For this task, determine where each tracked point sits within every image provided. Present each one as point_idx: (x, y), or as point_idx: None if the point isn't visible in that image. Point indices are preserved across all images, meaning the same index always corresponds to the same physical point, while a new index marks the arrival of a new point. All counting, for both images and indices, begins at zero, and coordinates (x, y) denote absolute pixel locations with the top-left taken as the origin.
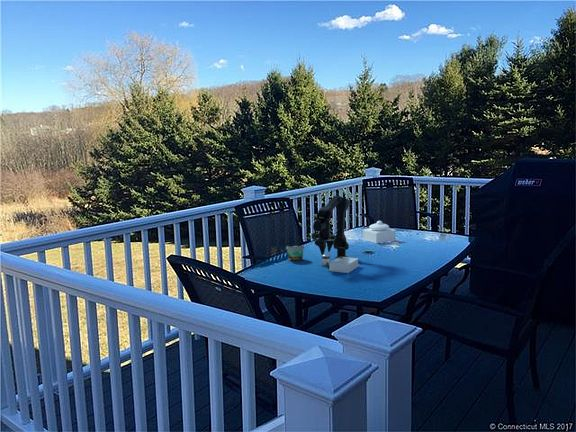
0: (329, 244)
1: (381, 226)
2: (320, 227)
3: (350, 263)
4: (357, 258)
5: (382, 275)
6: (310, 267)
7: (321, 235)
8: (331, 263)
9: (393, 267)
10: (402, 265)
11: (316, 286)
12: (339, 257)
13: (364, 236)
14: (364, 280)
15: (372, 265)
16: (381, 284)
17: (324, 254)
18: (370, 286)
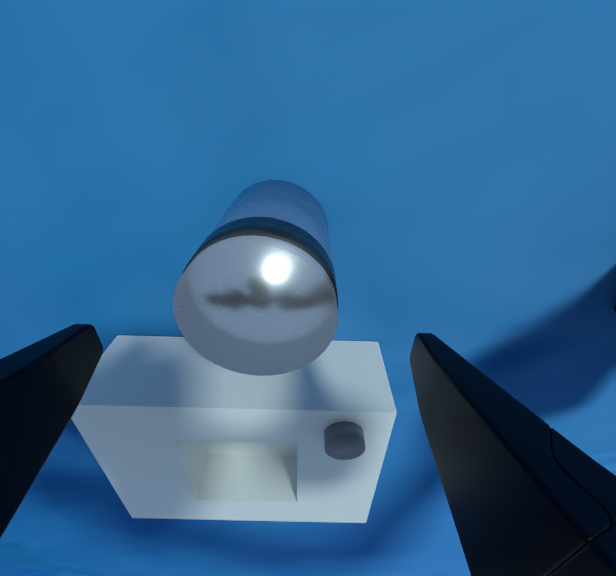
0: (512, 557)
1: None
2: None
3: (185, 517)
4: (366, 519)
5: (227, 544)
6: (80, 44)
7: None
8: (77, 417)
9: (389, 550)
10: (436, 563)
11: None
12: (359, 416)
13: None
14: (97, 519)
15: (407, 495)
16: (99, 557)
17: (275, 287)
18: (39, 543)
